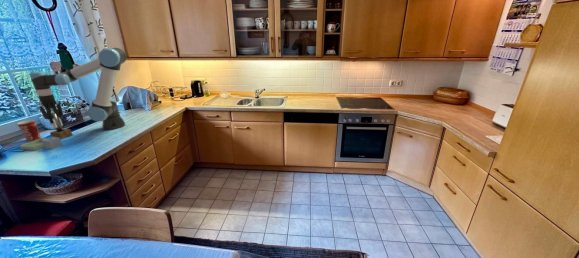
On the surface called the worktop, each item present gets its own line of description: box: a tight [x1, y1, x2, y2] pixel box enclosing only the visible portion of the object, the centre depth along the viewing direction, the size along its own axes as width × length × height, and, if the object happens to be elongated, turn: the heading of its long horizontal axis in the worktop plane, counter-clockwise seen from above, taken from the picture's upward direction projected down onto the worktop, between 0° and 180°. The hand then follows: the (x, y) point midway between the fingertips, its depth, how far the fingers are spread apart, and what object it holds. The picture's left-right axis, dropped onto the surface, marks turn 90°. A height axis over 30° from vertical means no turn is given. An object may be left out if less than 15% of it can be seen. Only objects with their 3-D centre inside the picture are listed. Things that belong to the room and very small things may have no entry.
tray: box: [19, 137, 46, 152], centre depth 162 cm, size 12×12×3 cm
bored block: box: [49, 128, 73, 141], centre depth 176 cm, size 8×8×5 cm
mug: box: [16, 119, 42, 142], centre depth 172 cm, size 13×9×14 cm
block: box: [42, 136, 63, 150], centre depth 160 cm, size 6×6×6 cm
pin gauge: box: [51, 112, 63, 132], centre depth 173 cm, size 3×3×14 cm
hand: (58, 126), depth 174 cm, fingers closed on pin gauge, 3 cm apart
